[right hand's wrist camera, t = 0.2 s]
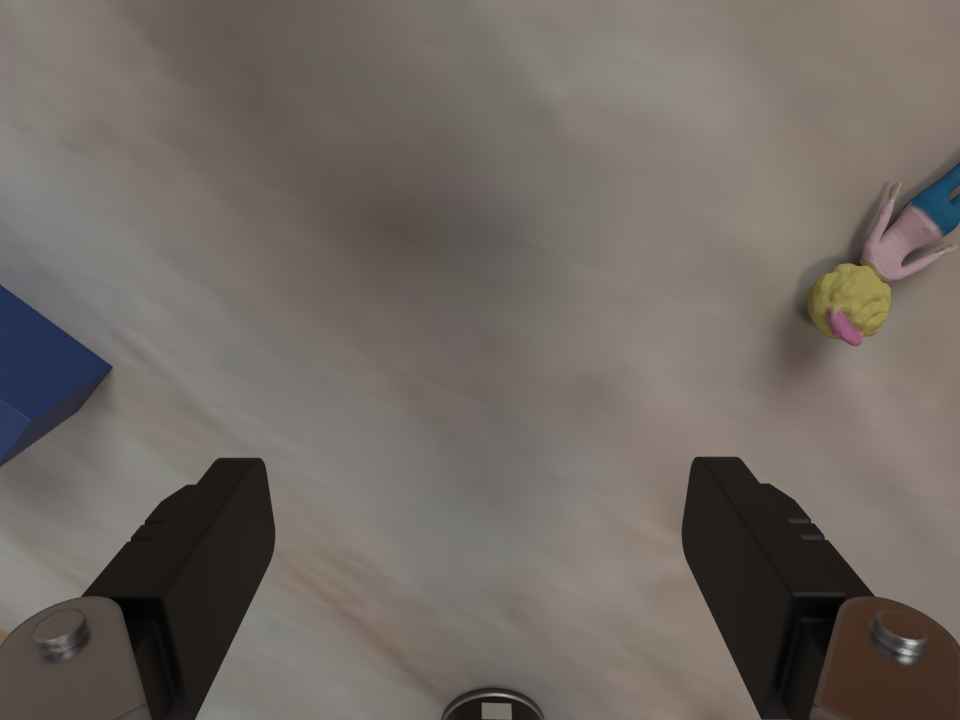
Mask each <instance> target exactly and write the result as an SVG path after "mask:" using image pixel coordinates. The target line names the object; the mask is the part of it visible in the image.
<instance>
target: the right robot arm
mask: <svg viewBox="0 0 960 720" xmlns="http://www.w3.org/2000/svg"><path fill="white" fill-rule="evenodd" d="M274 544H275V525H274V518H273V511H272V505H271V498H270V491H269V485H268V478H267V472H266V467H265V464H264V461H263V460H262V459H261V458H218V459H217V460H215V462H214V463H213V464H212V465H211V467H210V468H209V469H208V470H207V472H206V473H205V474H204V475H203V477H202V478H201V479H200V481H199V482H198V483H197V484H196V485H186V486H184V487H183V488H181V489H180V490H178V491H177V492H175V493H174V494H172V495H171V496H169V497H167V498H166V499H164V500H163V501H161V503H160V504H159V505H158V506H157V507H156V508H155V510H154V511H153V512H152V513H151V514H150V516H149V517H148V518H147V519H146V520H145V525H141V526H140V527H139V529H138V530H137V531H136V532H135V533H134V535H133V536H132V537H131V541H130V542H127V543H126V544H125V545H124V546H123V548H122V549H121V550H120V551H119V552H118V554H117V555H116V556H115V557H114V558H113V559H112V561H111V562H110V563H109V564H108V565H107V567H106V568H105V569H104V570H103V571H102V572H101V574H100V575H99V576H98V577H97V578H96V580H95V581H94V582H93V583H92V584H91V586H90V587H89V588H88V589H87V590H86V591H85V593H84V594H83V595H82V596H81V597H80V598H75V599H70V600H67V601H64V602H61V603H58V604H55V605H53V606H50V607H48V608H46V609H44V610H42V611H40V612H38V613H36V614H35V615H33V616H32V617H30V618H28V619H27V620H26V621H24V622H23V623H22V624H20V625H19V626H18V627H17V628H16V629H14V630H13V631H12V632H11V633H10V634H9V635H8V637H7V638H6V639H5V640H4V641H3V643H2V644H1V646H0V720H195V718H196V716H197V714H198V712H199V710H200V708H201V706H202V704H203V702H204V699H205V697H206V695H207V693H208V691H209V689H210V687H211V685H212V683H213V681H214V679H215V676H216V674H217V672H218V670H219V668H220V666H221V664H222V662H223V660H224V658H225V656H226V654H227V651H228V649H229V647H230V645H231V643H232V641H233V639H234V637H235V635H236V633H237V631H238V628H239V626H240V624H241V622H242V620H243V618H244V616H245V614H246V612H247V610H248V608H249V605H250V603H251V601H252V599H253V597H254V595H255V593H256V591H257V589H258V587H259V585H260V582H261V580H262V578H263V576H264V574H265V572H266V570H267V568H268V566H269V564H270V561H271V558H272V555H273V551H274ZM682 544H683V550H684V554H685V558H686V560H687V563H688V565H689V567H690V569H691V571H692V573H693V575H694V578H695V580H696V582H697V584H698V586H699V588H700V590H701V592H702V594H703V597H704V599H705V601H706V603H707V605H708V607H709V609H710V611H711V613H712V616H713V618H714V620H715V622H716V624H717V626H718V628H719V630H720V633H721V635H722V637H723V639H724V641H725V643H726V645H727V647H728V649H729V652H730V654H731V656H732V658H733V660H734V662H735V664H736V666H737V668H738V671H739V673H740V675H741V677H742V679H743V681H744V683H745V685H746V688H747V690H748V692H749V694H750V696H751V698H752V700H753V702H754V704H755V707H756V709H757V711H758V713H759V715H760V717H761V719H762V720H960V646H959V644H958V643H957V641H956V640H955V639H954V638H953V637H952V635H951V634H950V633H949V632H948V631H947V630H946V629H944V628H943V627H942V626H941V625H940V624H938V623H937V622H936V621H934V620H933V619H932V618H930V617H928V616H927V615H925V614H924V613H922V612H920V611H918V610H916V609H914V608H912V607H910V606H907V605H905V604H902V603H899V602H896V601H893V600H890V599H885V598H880V597H875V596H874V595H873V593H872V592H871V591H870V590H869V589H868V587H867V586H866V585H865V584H864V583H863V581H862V580H861V579H860V578H859V577H858V575H857V574H856V573H855V572H854V571H853V569H852V568H851V567H850V566H849V565H848V563H847V562H846V561H845V560H844V559H843V557H842V556H841V555H840V554H839V553H838V551H837V550H836V549H835V548H834V547H833V545H832V544H831V543H830V542H829V541H828V540H825V538H824V535H823V533H822V532H821V531H820V530H819V529H818V527H817V526H816V525H815V524H811V519H810V518H809V517H808V516H807V514H806V513H805V512H804V511H803V510H802V508H801V507H800V506H799V505H798V504H797V502H796V501H795V500H794V499H792V498H791V497H789V496H788V495H786V494H784V493H783V492H781V491H780V490H778V489H777V488H775V487H774V486H772V485H771V484H760V483H759V482H758V480H757V479H756V478H755V477H754V475H753V474H752V473H751V471H750V470H749V469H748V468H747V466H746V465H745V464H744V462H743V461H742V460H741V459H740V458H738V457H696V458H695V459H694V460H693V462H692V465H691V469H690V476H689V482H688V489H687V496H686V503H685V509H684V516H683V523H682ZM442 720H544V717H543V714H542V712H541V710H540V708H539V707H538V706H537V705H536V704H535V703H534V702H533V701H532V700H531V699H529V698H528V697H526V696H524V695H522V694H520V693H518V692H515V691H511V690H507V689H499V688H488V689H480V690H476V691H472V692H469V693H467V694H465V695H463V696H461V697H459V698H458V699H456V700H455V701H454V702H452V703H451V704H450V705H449V707H448V708H447V709H446V711H445V712H444V715H443V718H442Z"/></svg>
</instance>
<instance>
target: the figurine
mask: <svg viewBox="0 0 960 720" xmlns="http://www.w3.org/2000/svg"><path fill="white" fill-rule="evenodd" d="M901 185H902V183H901V182H898V183H896V184H895V185H894V186H892V187H891V189H890V192H889V201H888V202H887V203H886V204H885V205H884V206H883V207H882V209H881V211H880V213H879V216H878V218H877V220H876V222H875V224H874V226H873V228H872V230H871V232H870V233H869V235H868V237H867V239H866V241H865V243H864V245H863V251H862V256H861V259H860V263H861V265H862V266H856V265H853V264H851V263H846V264H840V265H837V266H836V267H835V268H834V269H833V270H832V272H831V273H828V274H824V275H823V276H821V277H820V278H819V279H818V280H817V281H816V282H815V284H814V285H813V286H812V287H810V289H809V291H808V295H807V296H808V303H807V310H808V312H809V315H810V318H811V320H812V322H813V323H814V325H815V326H816V327H817V328H818V329H819V330H820V331H821V332H822V333H824V334H825V335H827V336H828V337H831V338H834V339H838V340H844V341H845V342H847V343H848V344H850V345H852V346H858V345H860V344H861V343H862V338H863V337H866V336H872V335H875V334H876V333H877V332H878V331H879V330H880V329H881V326H882V324H883V322H884V321H885V320H886V319H887V317H888V313H889V310H890V306H891V305H890V304H891V297H890V295H891V288H890V287H889V286H888V285H887V284H886V283H883V282H893V281H899V280H901V279H903V278H906V277H908V276H911V275H913V274H914V273H917V272H919V271H922V270H923V269H924V268H925V267H927V266H928V265H930V264H932V263H934V262H935V261H936V260H937V259H938V258H939V257H940V256H941V255H945V254H948V253H950V252H952V251H953V250H955V249H956V248H957V247H956V245H948V246H947V247H944V248H942V249H941V250H939V251H937V252H933V253H930V254H928V255H925V256H923V257H921V258H919V259H917V260H916V261H914V262H912V263H910V264H908V265H906V266H904V267H901V263H902V261H903V259H904V258H905V257H906V256H907V254H908V253H910V252H911V251H913V250H914V249H916V248H919V247H922V246H924V245H927V244H929V243H931V242H934V241H938V240H940V239H941V238H943V237H944V236H945V235H947V234H948V233H950V232H951V231H952V230H954V229H955V228H956V226H957V225H958V224H959V222H960V194H959V195H957V196H956V197H955V198H954V199H953V200H952V201H950V202H949V198H948V197H949V194H950V193H951V192H952V191H953V190H954V189H955V188H956V187H957V186H958V185H960V163H959V164H957V165H956V166H955V167H954V168H953V169H952V170H951V171H949V172H948V173H947V174H946V175H945V176H943V177H942V178H941V179H939V180H938V181H937V182H935V183H934V184H932V185H931V186H930V187H928V188H927V189H925V190H924V191H922V192H921V193H920V194H918V195H917V196H916V197H914V198H913V199H912V200H911V201H910V202H909V203H908V204H907V205H906V206H905V207H904V208H903V210H902V211H901V214H900V216H899V217H898V219H897V220H896V221H895V222H894V223H893V224H892V226H891V227H890V228H889V229H888V230H887V231H886V232H885V233H884V234H883V232H884V230H885V228H886V226H887V224H888V222H889V219H890V217H891V214H892V211H893V209H894V202H895V199H896V197H897V195H898V193H899V190H900V188H901ZM882 234H883V235H882ZM881 281H883V282H881Z"/></svg>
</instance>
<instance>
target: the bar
mask: <svg viewBox="0 0 960 720" xmlns="http://www.w3.org/2000/svg"><path fill="white" fill-rule="evenodd" d="M111 368H112V366H110V365H109V364H108V363H106V362H105V361H103V360H102V359H101V358H99V357H98V356H97V355H95V354H94V353H93V352H91V351H90V350H88V349H87V348H86V347H84V346H83V345H82V344H80V343H79V342H77V341H76V340H75V339H73V338H72V337H71V336H69V335H68V334H67V333H65V332H64V331H62V330H61V329H60V328H58V327H57V326H56V325H54V324H53V323H51V322H50V321H49V320H47V319H46V318H45V317H43V316H42V315H41V314H39V313H38V312H36V311H35V310H34V309H32V308H31V307H30V306H28V305H27V304H25V303H24V302H23V301H21V300H20V299H19V298H17V297H16V296H15V295H13V294H12V293H10V292H9V291H8V290H6V289H5V288H4V287H2V286H1V285H0V467H1V466H2V465H4V464H5V463H7V462H8V461H9V460H11V459H12V458H14V457H15V456H16V455H18V454H19V453H20V452H22V451H23V450H25V449H26V448H27V447H29V446H30V445H32V444H33V443H34V442H36V441H37V440H38V439H40V438H41V437H43V436H44V435H45V434H47V433H48V432H50V431H51V430H52V429H54V428H55V427H56V426H58V425H59V424H61V423H62V422H63V421H65V420H66V419H68V418H69V417H70V416H72V415H73V414H74V413H76V412H77V411H78V410H79V409H80V407H81V406H82V405H83V404H84V402H85V401H86V400H87V399H88V397H89V396H90V395H91V394H92V392H93V391H94V390H95V389H96V387H97V386H98V385H99V384H100V382H101V381H102V380H103V379H104V377H105V376H106V375H107V374H108V372H109V371H110V370H111Z"/></svg>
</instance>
